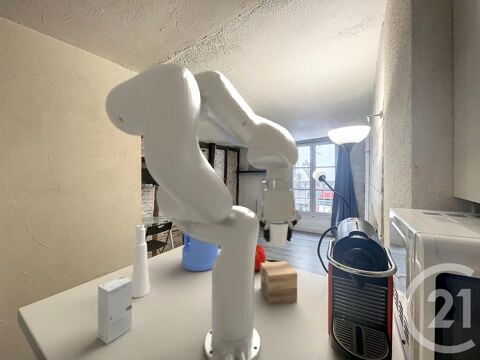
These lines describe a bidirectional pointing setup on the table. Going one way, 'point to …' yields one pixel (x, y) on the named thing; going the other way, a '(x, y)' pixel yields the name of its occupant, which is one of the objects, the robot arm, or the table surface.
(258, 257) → the tomato
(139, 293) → the cosmetic bottle
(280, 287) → the tower top block
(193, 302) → the table surface
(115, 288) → the skincare box
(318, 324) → the table surface
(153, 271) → the table surface
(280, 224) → the white cup
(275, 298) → the tower base block
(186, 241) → the water jug
